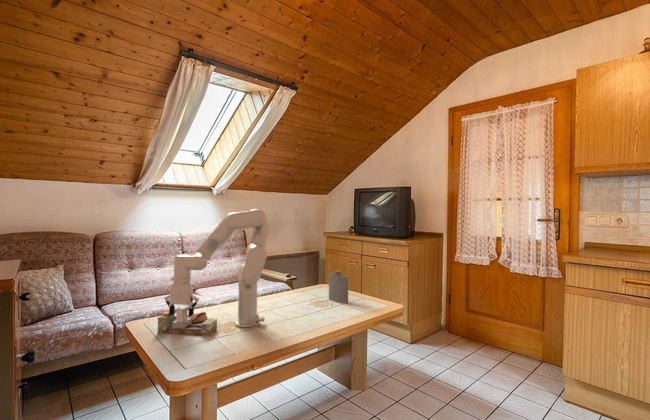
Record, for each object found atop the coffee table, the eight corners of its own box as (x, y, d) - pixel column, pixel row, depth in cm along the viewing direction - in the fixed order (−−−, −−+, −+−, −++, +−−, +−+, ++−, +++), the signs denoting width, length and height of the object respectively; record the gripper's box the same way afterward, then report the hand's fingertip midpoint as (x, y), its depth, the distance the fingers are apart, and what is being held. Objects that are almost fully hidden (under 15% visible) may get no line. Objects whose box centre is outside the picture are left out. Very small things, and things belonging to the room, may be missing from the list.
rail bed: (216, 329, 166) (217, 314, 165) (209, 335, 158) (209, 320, 157) (167, 327, 168) (167, 312, 168) (157, 333, 160) (157, 317, 160)
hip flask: (349, 303, 214) (349, 272, 213) (344, 304, 211) (345, 273, 211) (331, 298, 225) (331, 268, 225) (326, 299, 222) (327, 269, 222)
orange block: (170, 321, 165) (170, 311, 165) (167, 323, 163) (167, 313, 163) (165, 321, 165) (165, 311, 165) (162, 323, 163) (162, 313, 163)
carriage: (191, 323, 166) (191, 306, 166) (184, 328, 159) (184, 310, 159) (180, 322, 167) (180, 305, 167) (172, 327, 160) (172, 309, 160)
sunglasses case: (174, 328, 166) (172, 315, 169) (171, 331, 171) (170, 318, 174) (210, 321, 177) (208, 309, 180) (207, 325, 182) (205, 312, 184)
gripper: (160, 281, 160) (160, 316, 160) (195, 282, 158) (194, 318, 158) (169, 277, 168) (169, 311, 168) (202, 279, 166) (201, 313, 166)
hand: (181, 315), depth 163 cm, fingers open, 9 cm apart
